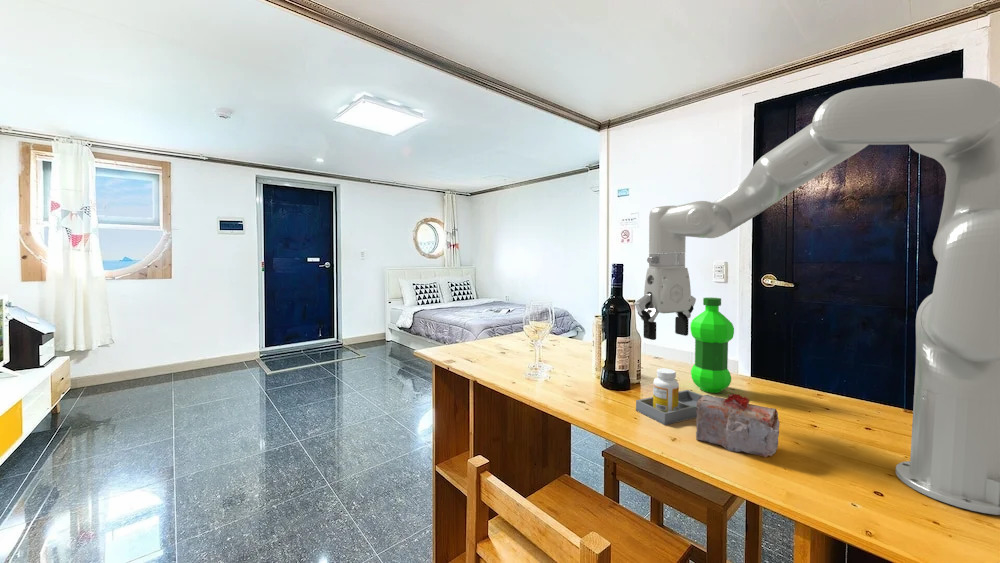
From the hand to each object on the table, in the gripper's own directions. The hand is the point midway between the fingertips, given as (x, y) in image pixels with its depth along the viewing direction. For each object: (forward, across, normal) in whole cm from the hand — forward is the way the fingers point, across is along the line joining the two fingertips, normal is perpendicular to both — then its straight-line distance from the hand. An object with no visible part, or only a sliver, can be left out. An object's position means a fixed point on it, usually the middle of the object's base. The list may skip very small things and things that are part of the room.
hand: (666, 336), depth 88 cm
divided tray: (+18, +4, 0) cm, 19 cm away
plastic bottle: (+18, +24, +7) cm, 31 cm away
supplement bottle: (+18, 0, 0) cm, 18 cm away
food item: (+19, +1, -16) cm, 25 cm away
